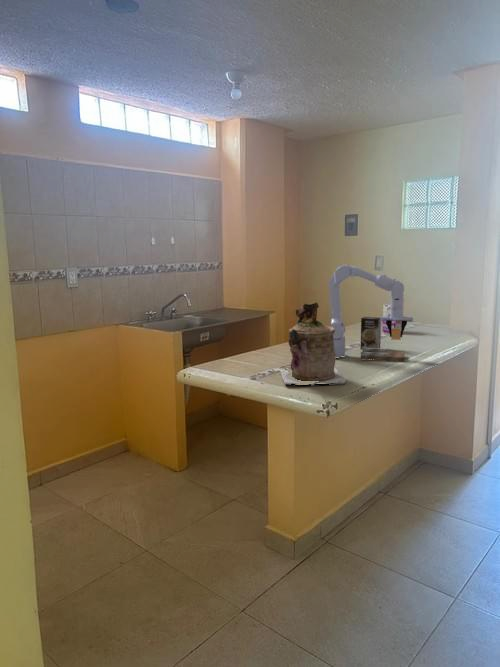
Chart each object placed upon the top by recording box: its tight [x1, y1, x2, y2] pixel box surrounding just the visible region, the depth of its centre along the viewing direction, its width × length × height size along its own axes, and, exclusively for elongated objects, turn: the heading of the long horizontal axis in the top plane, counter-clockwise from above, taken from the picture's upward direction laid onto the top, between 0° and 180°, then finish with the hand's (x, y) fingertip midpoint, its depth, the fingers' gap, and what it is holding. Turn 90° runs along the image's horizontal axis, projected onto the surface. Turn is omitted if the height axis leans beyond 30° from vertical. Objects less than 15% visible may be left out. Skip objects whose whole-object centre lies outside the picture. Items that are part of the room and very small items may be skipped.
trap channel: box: [360, 348, 406, 363], centre depth 232 cm, size 20×11×4 cm, turn 73°
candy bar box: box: [382, 303, 401, 334], centre depth 291 cm, size 11×5×16 cm, turn 25°
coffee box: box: [360, 316, 382, 349], centre depth 251 cm, size 9×6×16 cm
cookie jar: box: [279, 301, 347, 385], centre depth 200 cm, size 25×25×32 cm
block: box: [390, 328, 402, 341], centre depth 228 cm, size 4×4×4 cm
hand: (396, 336), depth 229 cm, fingers closed on block, 4 cm apart
